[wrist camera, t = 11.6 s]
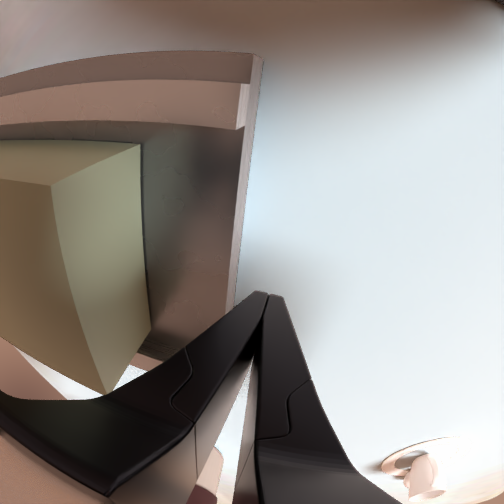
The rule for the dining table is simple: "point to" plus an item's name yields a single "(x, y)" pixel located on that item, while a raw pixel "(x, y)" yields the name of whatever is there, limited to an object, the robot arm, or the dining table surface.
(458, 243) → the dining table surface
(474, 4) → the dining table surface
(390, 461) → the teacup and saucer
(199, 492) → the coffee cup
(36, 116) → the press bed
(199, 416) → the robot arm
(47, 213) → the block
